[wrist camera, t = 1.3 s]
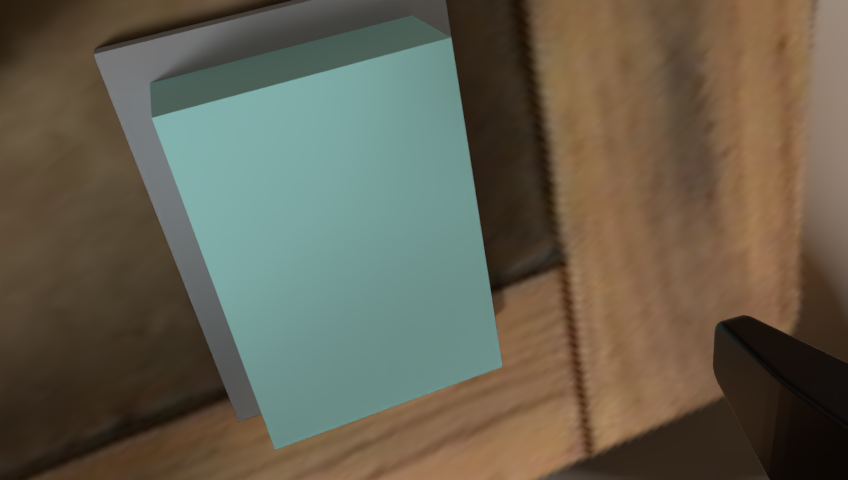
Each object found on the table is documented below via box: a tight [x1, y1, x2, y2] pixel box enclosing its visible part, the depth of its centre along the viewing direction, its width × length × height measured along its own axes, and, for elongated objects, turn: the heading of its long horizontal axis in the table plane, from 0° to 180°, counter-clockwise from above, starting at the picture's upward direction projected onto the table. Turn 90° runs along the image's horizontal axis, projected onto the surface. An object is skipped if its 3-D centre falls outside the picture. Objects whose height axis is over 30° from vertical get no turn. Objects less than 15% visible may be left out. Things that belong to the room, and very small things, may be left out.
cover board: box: [150, 15, 502, 450], centre depth 21 cm, size 10×7×3 cm
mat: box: [94, 0, 497, 422], centre depth 22 cm, size 12×9×1 cm
